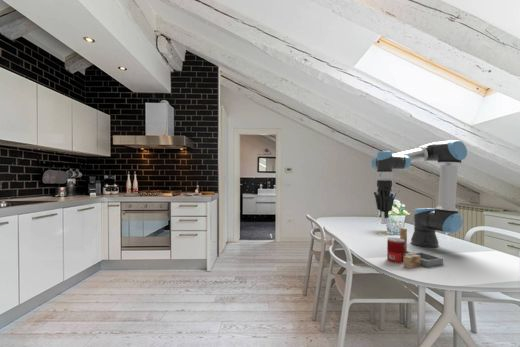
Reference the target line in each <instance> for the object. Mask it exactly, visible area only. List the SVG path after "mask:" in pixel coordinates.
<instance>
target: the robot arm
mask: <svg viewBox="0 0 520 347" xmlns="http://www.w3.org/2000/svg"><path fill="white" fill-rule="evenodd" d="M467 156H468V149H467V147H466V145H465V143H464V142H463V141H461V140H459V139H458V140H457V139H456V140H453V139H451V140H444V141H434V142H431V143H430V142H429V143H427V144H424V145H421V146H420V145H419V146H417V147H416V148H414V149H410V150H405V151H399V152H395V153H393V152H392V151H391V150H380V151H378V152H377V154H376V156H375V157H373V158H372V160H371V162H370V163H371V166H372V168H373V169H374V170H376V187H377V190H376V191H375V192H373V195H374V197H375V198H374V199H375V203H376V209H377V210H378V211H380V220H381V221H380V222H381V224H382V225H387V224H388V218H389V212H392V210H393V206H394V202H395V197H396V196H397V193H394V192H393V190H392V187H393V170H406V169H407V170H408V169H409V168H410V166H411V165H412V163H415V162H426V161H427V162H431V161H432V162H435V161H436V162H437V165H439V167H440V168H439V182H438V183H439V185H438V200H437V206H436V207H423V208H422V207H420V208H419V207H417V208H415V209H414V214H413V215H414V216H413V217H414V218H413V223H414V224H413V225H414V226H413V230H414V231H413V234H412V236H411V239H410V244H412V245H415V246H419V247H423V248H424V247H425V248H438V247H439V246H440V245H439V239H438V237H437V235H436V231H437V232H438V231H439V232H442V233H447V234H448V233H449V234H456V233H458V232H459V231H460V230H461V229H462V227H463V223H464V221H463V219H464V218H463V217H462V215H461V214H459V210H458V209H457V207H456V203H457V202H456V201H457V184H458V172H459V171H458V170H459V166H460V165H461V164H462V161H463V160H465V159H466V158H467Z"/></svg>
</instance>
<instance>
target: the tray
mask: <svg viewBox="0 0 520 347" xmlns="http://www.w3.org/2000/svg"><path fill="white" fill-rule="evenodd" d="M413 254H416V255H419V256H421V266H422V267H424V268H432V267H437V266H442V265H444V258H442V257H439V256H436V255H432V254H429V253H425V252H421V251H419V252H413V253H412V254H405V256H407V255H413ZM421 266H420V267H421Z"/></svg>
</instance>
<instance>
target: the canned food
mask: <svg viewBox="0 0 520 347" xmlns="http://www.w3.org/2000/svg"><path fill="white" fill-rule="evenodd" d="M386 240H387V245H386V246H387V248H386V249H387V250H386V252H387V254H386V257H387V260H388V261H389V262H390V263H395V262H396V263H397V264H403V256H405V240H403V239H400V238H399V237H388V238H387V239H386ZM396 263H395V264H396Z"/></svg>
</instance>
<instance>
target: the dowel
mask: <svg viewBox="0 0 520 347" xmlns="http://www.w3.org/2000/svg"><path fill="white" fill-rule="evenodd" d="M399 231H400V233H399V234H400V239H403V240H405V253H407V251H408V228H405V227H400V229H399Z"/></svg>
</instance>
